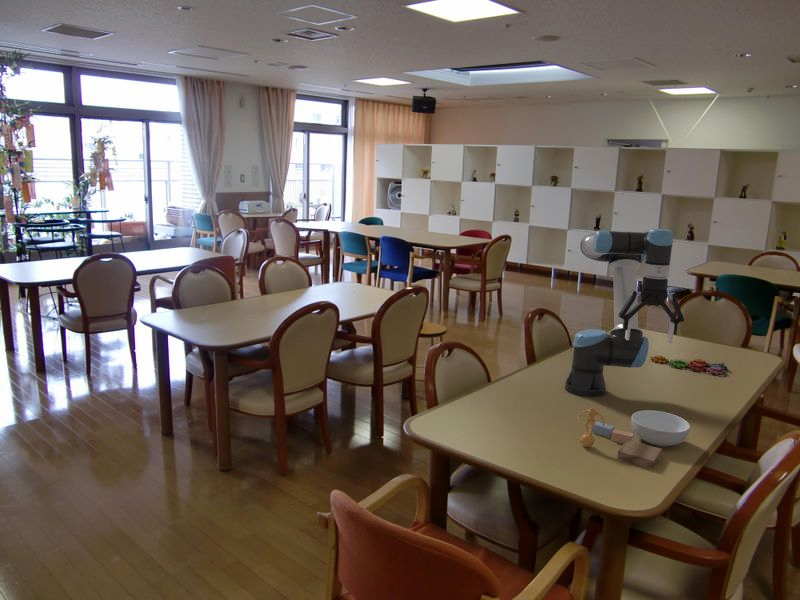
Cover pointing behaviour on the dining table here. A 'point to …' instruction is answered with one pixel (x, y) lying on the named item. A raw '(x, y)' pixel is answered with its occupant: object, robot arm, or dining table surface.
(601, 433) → the slate-blue brick
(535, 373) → the dining table surface
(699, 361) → the gear puzzle
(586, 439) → the figurine
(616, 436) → the terracotta brick
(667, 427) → the cereal bowl
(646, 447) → the walnut plinth
